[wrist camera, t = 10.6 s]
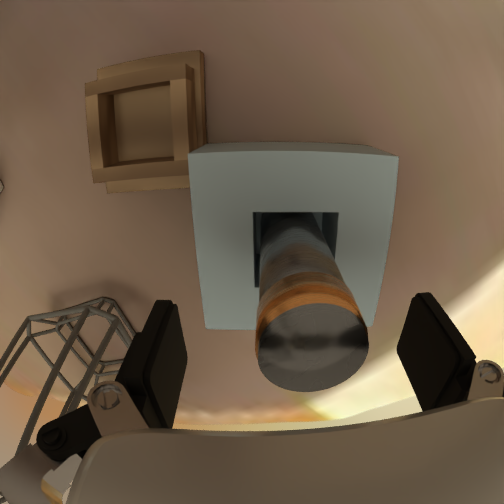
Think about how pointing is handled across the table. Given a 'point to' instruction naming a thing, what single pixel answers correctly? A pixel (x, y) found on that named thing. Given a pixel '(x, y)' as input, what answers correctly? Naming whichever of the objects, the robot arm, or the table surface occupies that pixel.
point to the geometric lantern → (81, 387)
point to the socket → (287, 200)
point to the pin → (304, 308)
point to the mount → (146, 121)
